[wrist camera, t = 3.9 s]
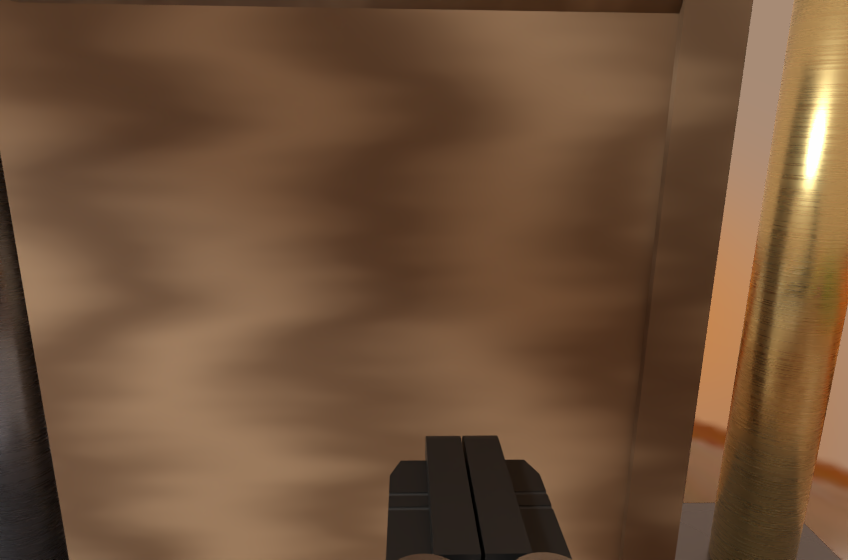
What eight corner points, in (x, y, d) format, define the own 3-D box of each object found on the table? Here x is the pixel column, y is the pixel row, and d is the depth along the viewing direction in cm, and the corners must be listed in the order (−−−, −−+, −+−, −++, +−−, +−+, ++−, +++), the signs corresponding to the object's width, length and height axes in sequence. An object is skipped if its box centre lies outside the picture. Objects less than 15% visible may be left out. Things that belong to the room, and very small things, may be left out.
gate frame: (-145, 674, 15) (-412, -232, 10) (5, 524, 21) (-119, -105, 16) (913, 655, 16) (1144, -188, 11) (780, 515, 22) (893, -82, 17)
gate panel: (67, 582, 17) (-45, -70, 13) (101, 536, 19) (13, -45, 15) (672, 574, 18) (760, -54, 13) (646, 530, 20) (715, -31, 15)
